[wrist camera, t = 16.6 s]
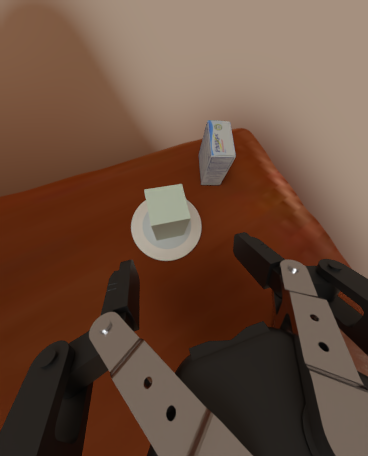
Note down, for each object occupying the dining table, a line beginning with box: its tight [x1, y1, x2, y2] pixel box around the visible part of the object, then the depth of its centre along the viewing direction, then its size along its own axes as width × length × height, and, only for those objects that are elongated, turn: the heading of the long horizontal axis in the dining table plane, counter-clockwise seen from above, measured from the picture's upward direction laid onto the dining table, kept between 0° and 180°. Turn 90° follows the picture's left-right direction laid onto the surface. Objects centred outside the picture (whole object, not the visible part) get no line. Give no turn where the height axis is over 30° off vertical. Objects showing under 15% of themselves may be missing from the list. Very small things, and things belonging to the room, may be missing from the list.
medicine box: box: [199, 120, 236, 185], centre depth 29 cm, size 8×4×9 cm, turn 2°
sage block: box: [144, 184, 191, 241], centre depth 23 cm, size 5×5×9 cm
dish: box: [131, 200, 202, 261], centre depth 28 cm, size 13×13×1 cm
